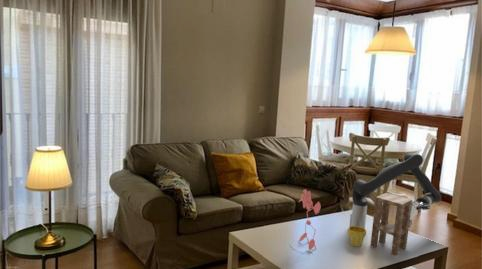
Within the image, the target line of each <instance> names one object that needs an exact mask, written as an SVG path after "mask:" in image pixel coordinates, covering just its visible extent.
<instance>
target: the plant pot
mask: <svg viewBox="0 0 482 269" xmlns="http://www.w3.org/2000/svg"><path fill="white" fill-rule="evenodd" d="M347 234H348V236H349V244H350V246H354V247H361V246H362V244H363V241H364V239H365V237H366V236H367V230H366V229H364V228H362V227H359V226H350V227H349V226H348V231H347Z"/></svg>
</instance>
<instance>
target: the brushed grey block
mask: <svg viewBox="0 0 482 269" xmlns="http://www.w3.org/2000/svg"><path fill="white" fill-rule="evenodd" d="M415 201H416V200H414V201H413V202H414V203H413V205H412V207H411V214H410V222H409V229H410V228H411V226H412V225H413V219H414V217H415V215H416V213H417V212H418V210H416V207H417V206H420V203H418V202H415Z"/></svg>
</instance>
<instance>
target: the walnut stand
mask: <svg viewBox="0 0 482 269" xmlns="http://www.w3.org/2000/svg"><path fill="white" fill-rule="evenodd" d="M412 202H413V199H410V198H407V197H403V196H399V195H397V194H396V195H395V194H392V193H389V192H385V193H383V194H380V195H378V196H376V197H375V203H374V209H373V210H374V212H373V218H372V227H371V229H372V230H371V237H370V245H369V247H372V248H377V247H378V244H379V243H382V244H384V243H385V242H386V238H387V235H391V236H393V237H392V243H391V249H390V250H391V251H390V254H391V255H393V256H398V255H399V251H400V250H402V251H406V249H407V244H408V237H409V230H410V228H409V222H410V214H411V207H412ZM390 205H391V206H394V207H396V209H395V210H396V211H395V220H394V223H391V222H389V214H390Z"/></svg>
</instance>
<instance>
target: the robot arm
mask: <svg viewBox="0 0 482 269" xmlns="http://www.w3.org/2000/svg"><path fill="white" fill-rule="evenodd" d="M423 162H424V158H423V156H422V155H421V154H418V153H413V152H409V153H405V155H404V157H403V161H402V162H398V163H394V164H391V165H388V166H386V167H384V168H382V169H381V170H380V171H378V173H377V175H376V177H374V178H372V179H371V180H369V181H365V180H363V179H357V180H355V182H354V183H353V186H352V196H351V197H352V210H351V213H350V217H349V226H348V228H349V227H350V226H359V227H362V228H364V229H365V228H366V222H367V221H366V220H367V211H368V203H369V202H368V199H367V198H366V196H369V195H370V194H372V193H373V192H375V191H376V190H378V189H379V188H380V187H382V186H384V185H386V184H388V183H389V182H392V181H393V180H395V179H397V178H398V177H400V176H402V175H404V174H406V173H408V172H411V174H413V176H414V177H415V179H416V180H417V182H418V183H419V186H420V188H421V189H422V191H423V192H424V193H425V194H424V195H422V196H420V197H418V198H416V200H414V201H415V202H418V203H420V206H417V207H416V210H417V211H419V210H423V211H426V210H430V209H431V205H432V204H434V203H439V202H441V201H442V194H441V192H440V191H439V190H438V189H436V187H435V186H434V185H433V184H432V182H431V179H429V177H428V176H427V174H426V173H424V172H423V171H422V169H421V168H420V167H421V166H422V164H423ZM414 201H412V205H413V203H414ZM365 230H366V229H365Z"/></svg>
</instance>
